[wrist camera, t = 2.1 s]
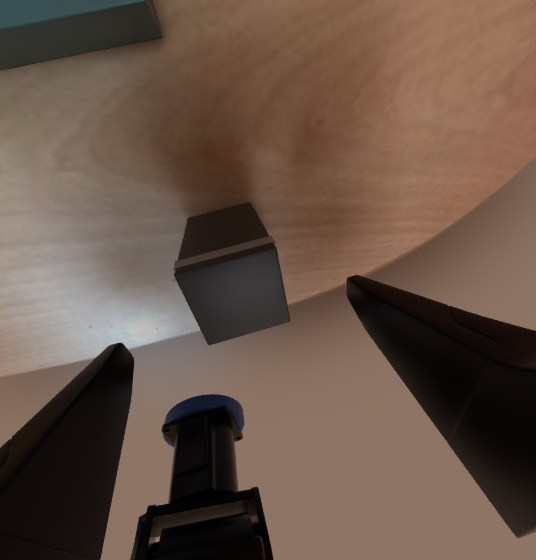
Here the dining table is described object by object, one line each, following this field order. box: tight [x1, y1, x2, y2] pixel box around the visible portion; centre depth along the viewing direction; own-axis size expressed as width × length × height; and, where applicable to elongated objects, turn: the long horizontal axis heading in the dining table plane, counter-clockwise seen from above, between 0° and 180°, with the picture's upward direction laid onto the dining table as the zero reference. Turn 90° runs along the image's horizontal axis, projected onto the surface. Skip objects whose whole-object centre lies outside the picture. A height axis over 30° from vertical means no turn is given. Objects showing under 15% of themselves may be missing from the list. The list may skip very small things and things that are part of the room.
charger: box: [174, 203, 290, 345], centre depth 13 cm, size 4×4×7 cm
